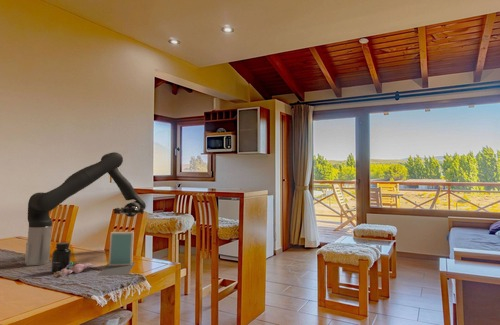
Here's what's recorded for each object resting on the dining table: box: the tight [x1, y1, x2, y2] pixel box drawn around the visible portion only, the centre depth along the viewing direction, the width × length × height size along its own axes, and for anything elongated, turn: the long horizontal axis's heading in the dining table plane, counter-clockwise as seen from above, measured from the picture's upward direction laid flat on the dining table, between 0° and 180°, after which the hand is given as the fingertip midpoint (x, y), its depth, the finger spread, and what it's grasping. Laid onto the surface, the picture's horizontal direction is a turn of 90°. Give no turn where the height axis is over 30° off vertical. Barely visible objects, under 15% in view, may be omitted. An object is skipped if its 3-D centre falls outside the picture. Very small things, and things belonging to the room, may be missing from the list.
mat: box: [96, 261, 136, 277], centre depth 140 cm, size 22×12×1 cm, turn 13°
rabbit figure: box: [53, 260, 94, 278], centre depth 132 cm, size 6×6×15 cm
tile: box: [108, 231, 135, 266], centre depth 147 cm, size 2×10×15 cm, turn 103°
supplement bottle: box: [50, 241, 72, 274], centre depth 135 cm, size 7×7×12 cm
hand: (127, 212), depth 159 cm, fingers open, 8 cm apart
